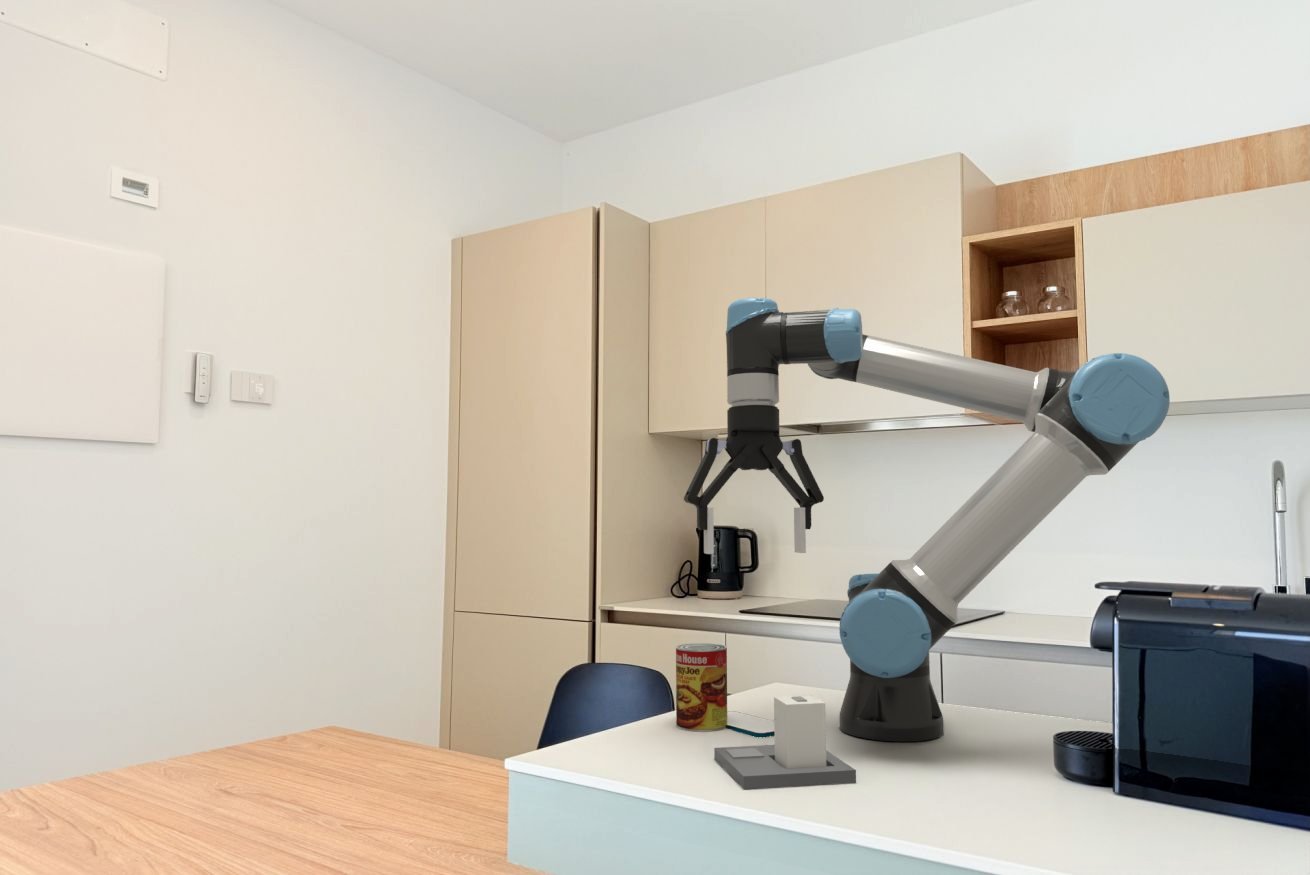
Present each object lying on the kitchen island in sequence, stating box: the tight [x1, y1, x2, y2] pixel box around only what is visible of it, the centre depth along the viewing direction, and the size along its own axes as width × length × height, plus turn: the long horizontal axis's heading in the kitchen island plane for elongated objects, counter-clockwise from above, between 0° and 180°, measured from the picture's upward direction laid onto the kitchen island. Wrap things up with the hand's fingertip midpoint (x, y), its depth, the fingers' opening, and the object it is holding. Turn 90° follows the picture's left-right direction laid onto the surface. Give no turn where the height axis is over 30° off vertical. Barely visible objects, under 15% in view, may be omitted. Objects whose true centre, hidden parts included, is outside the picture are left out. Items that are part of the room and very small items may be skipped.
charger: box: [773, 695, 827, 769], centre depth 118 cm, size 5×5×9 cm
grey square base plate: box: [713, 744, 857, 790], centre depth 118 cm, size 14×14×2 cm
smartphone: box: [725, 710, 775, 739], centre depth 145 cm, size 8×1×16 cm
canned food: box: [675, 642, 728, 733], centre depth 145 cm, size 8×8×12 cm
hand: (754, 553), depth 135 cm, fingers open, 13 cm apart
